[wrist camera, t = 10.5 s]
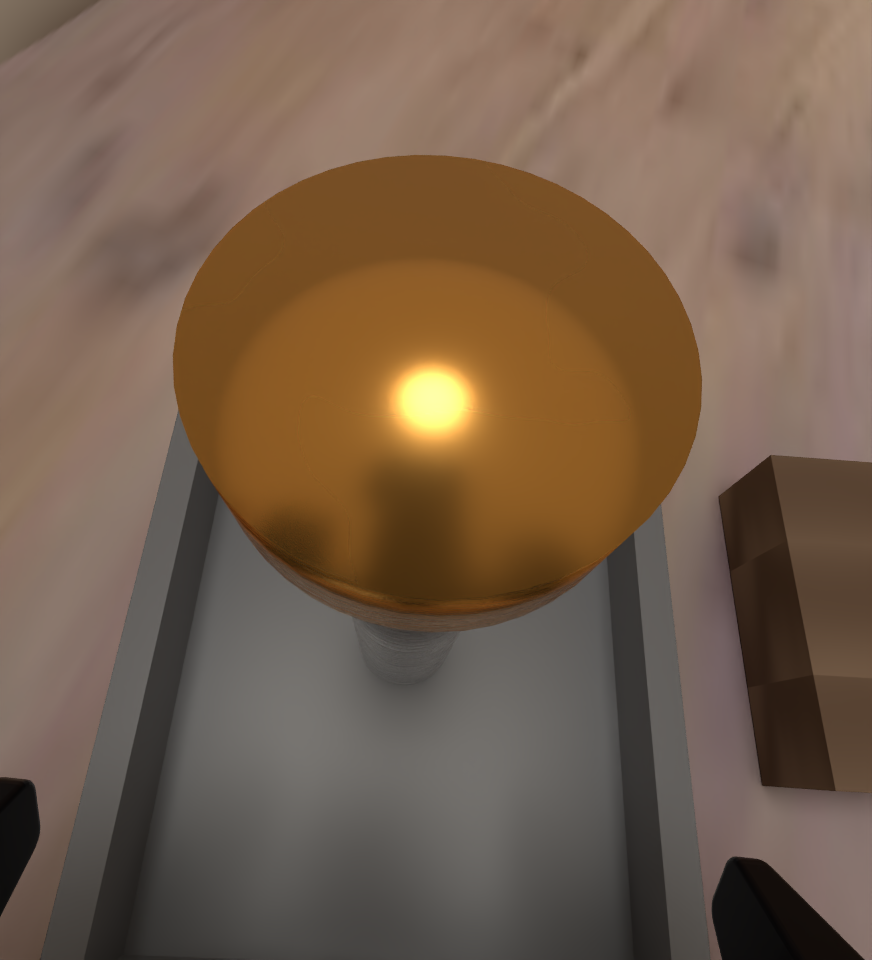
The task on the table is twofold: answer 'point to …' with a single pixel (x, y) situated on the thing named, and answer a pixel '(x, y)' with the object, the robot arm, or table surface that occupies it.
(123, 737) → the tray
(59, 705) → the table surface
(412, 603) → the pin
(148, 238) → the table surface
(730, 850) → the table surface
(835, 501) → the hitch block
